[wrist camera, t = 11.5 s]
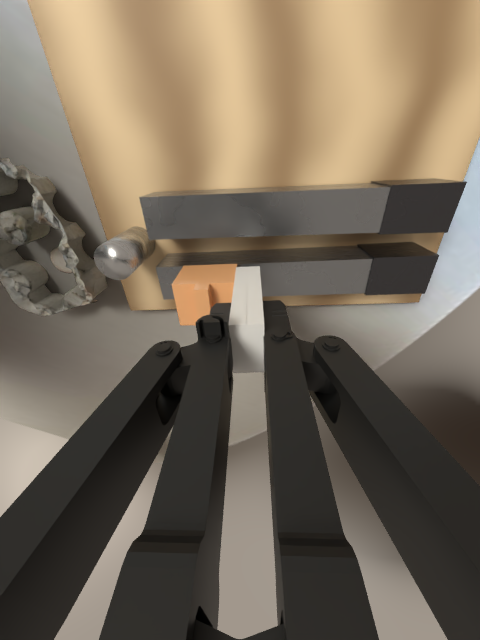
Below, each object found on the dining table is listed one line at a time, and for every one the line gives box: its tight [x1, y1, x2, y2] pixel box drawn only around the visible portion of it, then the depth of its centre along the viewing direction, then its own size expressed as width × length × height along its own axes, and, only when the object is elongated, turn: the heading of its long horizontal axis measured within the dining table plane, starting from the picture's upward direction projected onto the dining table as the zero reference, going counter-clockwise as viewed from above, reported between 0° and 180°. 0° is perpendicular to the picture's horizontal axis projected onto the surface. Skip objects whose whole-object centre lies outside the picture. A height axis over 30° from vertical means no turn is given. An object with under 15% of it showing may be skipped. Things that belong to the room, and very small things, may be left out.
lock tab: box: [172, 264, 237, 325], centre depth 16 cm, size 4×3×4 cm
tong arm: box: [139, 178, 467, 240], centre depth 16 cm, size 18×3×3 cm, turn 92°
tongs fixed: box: [94, 226, 439, 300], centre depth 18 cm, size 22×5×4 cm, turn 93°
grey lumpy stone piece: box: [0, 158, 107, 316], centre depth 20 cm, size 11×8×4 cm
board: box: [27, 0, 480, 310], centre depth 17 cm, size 25×20×1 cm
